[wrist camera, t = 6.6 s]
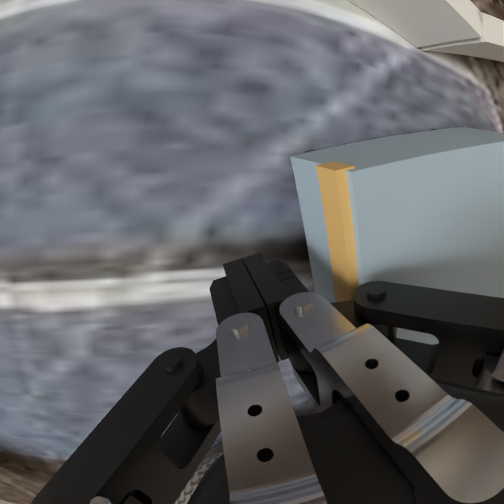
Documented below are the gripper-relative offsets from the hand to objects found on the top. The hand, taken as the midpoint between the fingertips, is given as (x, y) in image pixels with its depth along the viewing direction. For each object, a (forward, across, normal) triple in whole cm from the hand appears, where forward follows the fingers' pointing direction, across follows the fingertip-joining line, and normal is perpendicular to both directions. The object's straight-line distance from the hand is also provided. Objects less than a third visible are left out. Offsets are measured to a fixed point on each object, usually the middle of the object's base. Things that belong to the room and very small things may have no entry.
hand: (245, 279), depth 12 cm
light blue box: (+2, -8, 0) cm, 8 cm away
